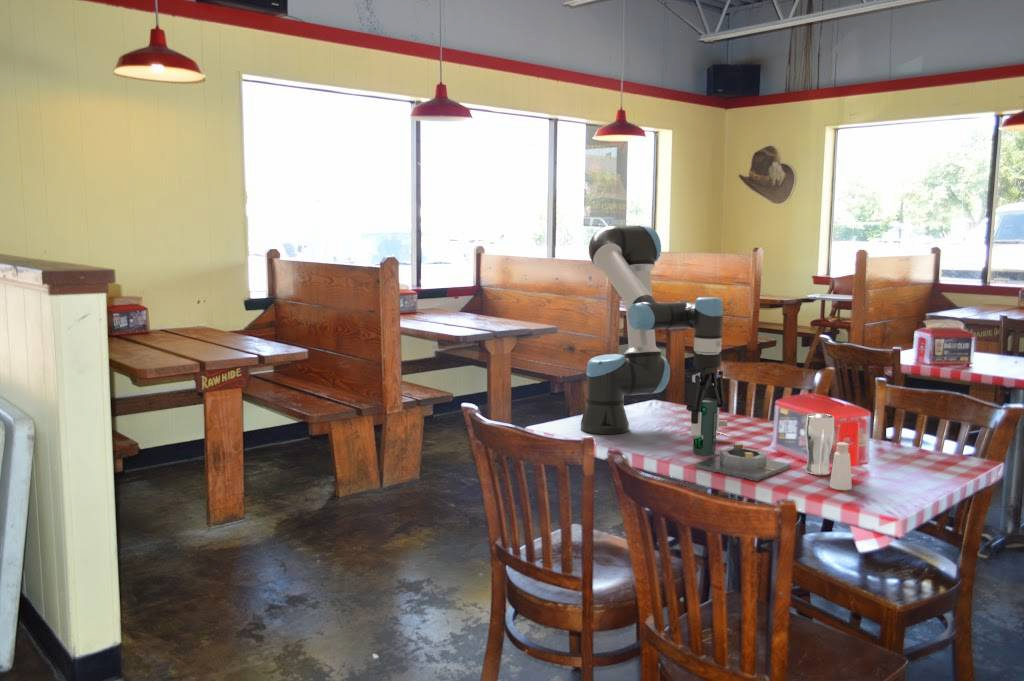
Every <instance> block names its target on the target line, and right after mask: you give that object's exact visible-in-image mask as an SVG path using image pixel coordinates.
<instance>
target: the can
mask: <svg viewBox="0 0 1024 681" xmlns="http://www.w3.org/2000/svg"><path fill="white" fill-rule="evenodd" d="M699 412H702V413H701V435H700V436H698V435H693V437H692V438H693V441H692V453H693V454H695V453H696V454H695V455H698V454H701V455H700V456H712V455H711V454H713V455H715V454H716V450H717V448H716V447H717V444H716V443H717V433H716V431H717V430H716V423H717V400H715V399H710V397H707V398H705V397H703V401H702V404H701V408H700V411H699ZM714 453H715V454H714Z"/></svg>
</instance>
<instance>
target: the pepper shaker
mask: <svg viewBox="0 0 1024 681" xmlns="http://www.w3.org/2000/svg"><path fill="white" fill-rule="evenodd" d="M849 446H850V444H849V443H847V442H843V441H839V442H837V443H836V451H835V452H834V454H833V460H832V461H833V462H832V469H831V473H830V474H831V475H830V481H829V488H831V489H834V490H837V491H850V490H852V489H853V485H852V466H851V454H850V452H849Z"/></svg>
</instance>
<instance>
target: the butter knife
mask: <svg viewBox="0 0 1024 681" xmlns="http://www.w3.org/2000/svg"><path fill="white" fill-rule="evenodd" d="M716 432H717V433H720V434H719V435H721V434H724V435H727V436H726V437H729V436H730V437H732V434H729V433H725V432H721V431H719V430H716ZM717 433H716V434H717ZM724 435H723V436H724Z"/></svg>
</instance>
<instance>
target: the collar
mask: <svg viewBox="0 0 1024 681" xmlns="http://www.w3.org/2000/svg"><path fill="white" fill-rule="evenodd" d="M743 445H744V444H743V443H733V447H728V448H724V449H721V450H720V451H719V455H717V456H715V457H712V458H709V459H705V460H703V461H699V462H697V463H694V468H695V469H699V470H704V471H708V472H712V471H713V472H712V473H716V472H720V473H719V474H721V473H725V474H724V475H726V474H729V475H728V476H730V475H733V476H732V477H735V476H737V477H736V478H739V477H740V479H744V478H746V479H745V480H748V479H750V481H753V480H754V481H753V482H759V481H762V480H764V479H766V477H767V478H769V477H771V475H772V476H774V475H776V473H777V474H779V473H781V472H780V471H782V472H783V470H784V471H786V470H785V469H787V468H789V469H791V468H792V467H791V465H792V464H791V463H786V462H781V461H776V460H771V459H767V456H768V455H767V454H766V453H764V452H763V451H762V450H758V449H753V448H748V447H744V446H743ZM790 467H791V468H790ZM787 470H788V469H787ZM778 472H779V473H778ZM768 476H769V477H768ZM763 478H764V479H763ZM761 479H762V480H761Z"/></svg>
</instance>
